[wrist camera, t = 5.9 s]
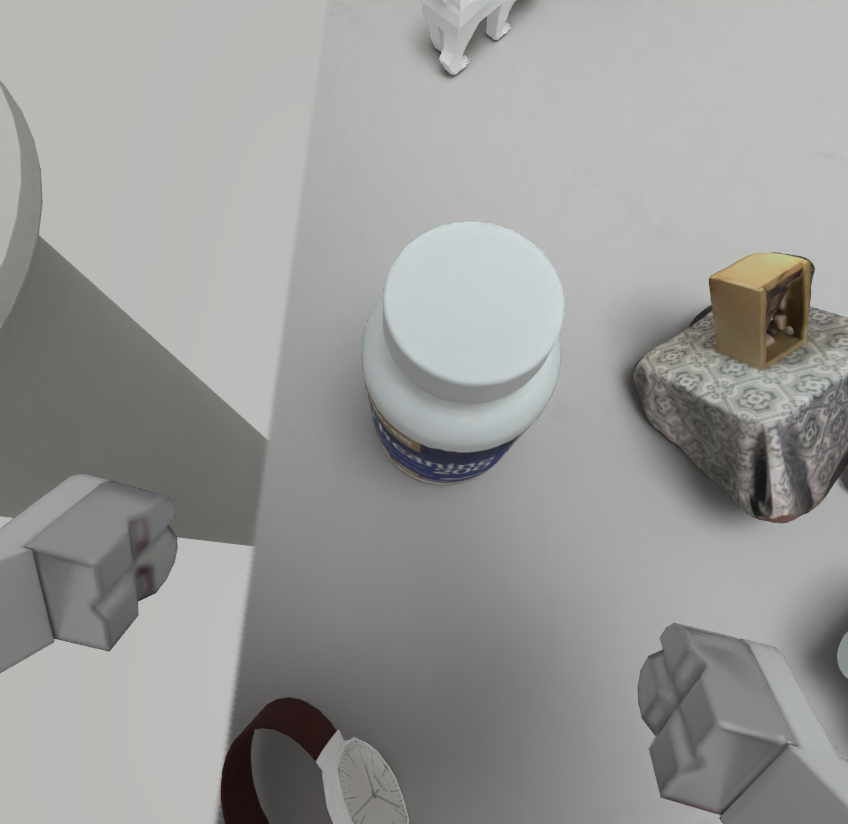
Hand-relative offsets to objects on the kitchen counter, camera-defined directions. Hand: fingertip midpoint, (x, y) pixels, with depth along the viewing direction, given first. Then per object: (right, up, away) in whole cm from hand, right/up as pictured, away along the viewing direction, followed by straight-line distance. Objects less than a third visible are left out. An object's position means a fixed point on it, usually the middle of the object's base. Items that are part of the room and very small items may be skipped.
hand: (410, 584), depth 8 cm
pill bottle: (+1, +2, +12) cm, 12 cm away
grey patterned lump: (+14, +2, +12) cm, 18 cm away
